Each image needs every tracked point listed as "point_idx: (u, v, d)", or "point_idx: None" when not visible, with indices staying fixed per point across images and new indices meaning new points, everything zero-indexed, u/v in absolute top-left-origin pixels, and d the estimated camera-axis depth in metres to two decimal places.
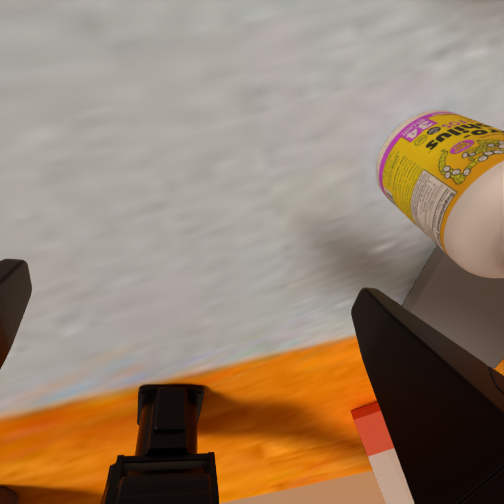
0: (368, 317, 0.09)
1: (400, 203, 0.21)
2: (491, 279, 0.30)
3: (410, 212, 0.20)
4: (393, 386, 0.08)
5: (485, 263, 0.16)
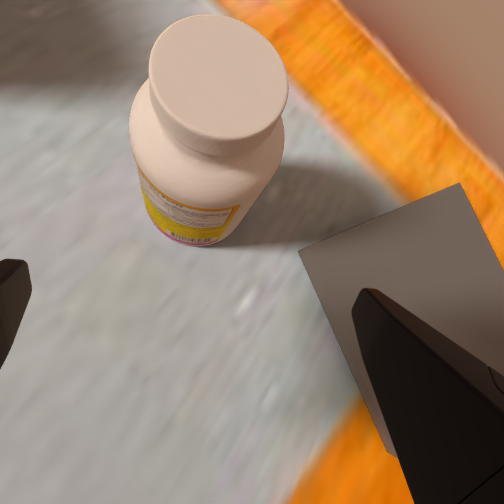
0: (368, 317, 0.10)
1: (169, 225, 0.19)
2: (391, 256, 0.25)
3: (169, 219, 0.17)
4: (393, 386, 0.08)
5: (198, 171, 0.13)
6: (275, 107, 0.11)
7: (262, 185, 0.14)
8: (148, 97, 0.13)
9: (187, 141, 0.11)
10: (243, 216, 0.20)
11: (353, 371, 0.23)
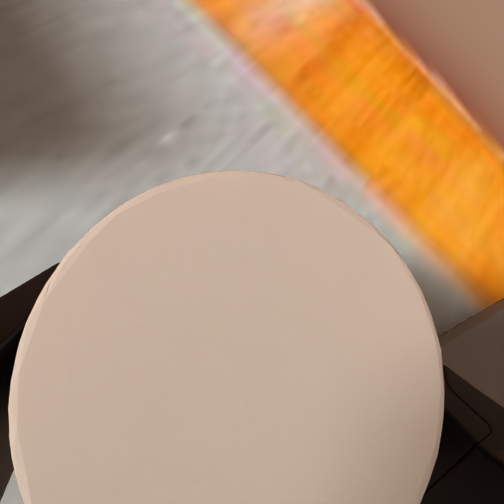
0: None
1: None
2: None
3: None
4: None
5: None
6: (416, 459, 0.04)
7: None
8: None
9: None
10: None
11: None
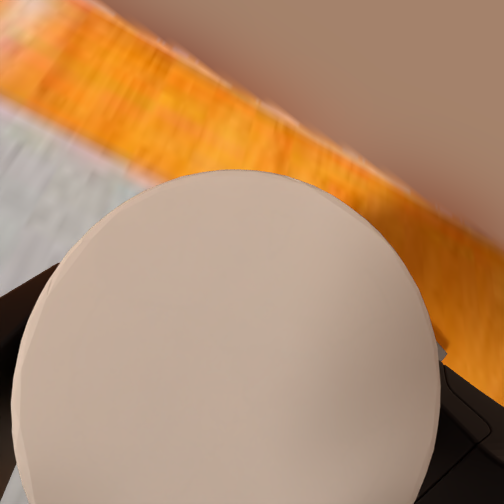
0: None
1: None
2: None
3: None
4: None
5: None
6: (413, 453, 0.04)
7: None
8: None
9: None
10: None
11: None
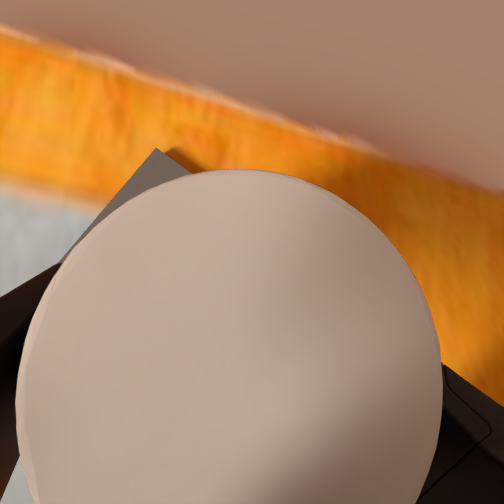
0: None
1: None
2: None
3: None
4: None
5: None
6: (415, 453, 0.04)
7: None
8: None
9: None
10: None
11: None
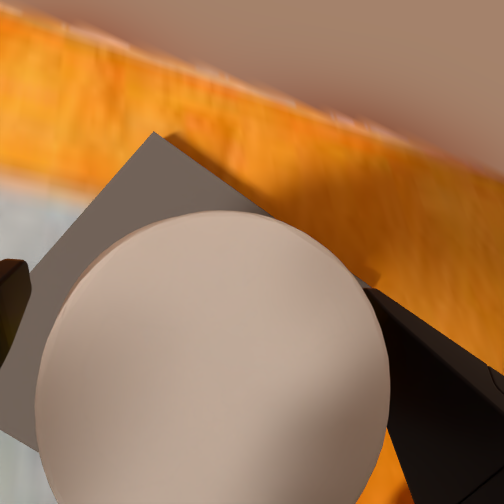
0: None
1: None
2: None
3: None
4: (393, 386, 0.08)
5: None
6: (364, 448, 0.05)
7: None
8: None
9: None
10: None
11: None
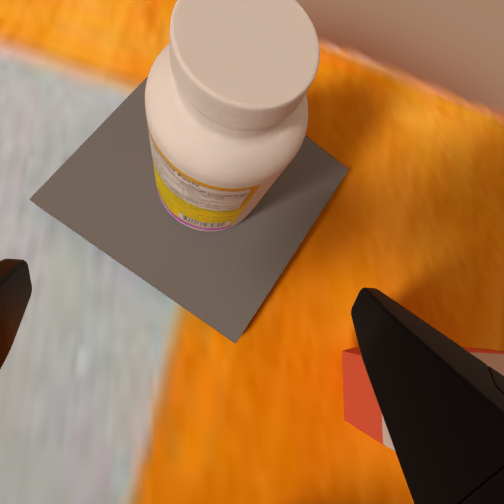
0: (368, 317, 0.09)
1: (182, 207, 0.18)
2: (138, 156, 0.22)
3: (183, 200, 0.17)
4: (393, 386, 0.08)
5: (218, 146, 0.12)
6: (305, 75, 0.10)
7: (284, 164, 0.14)
8: (166, 65, 0.12)
9: (209, 111, 0.10)
10: None
11: None
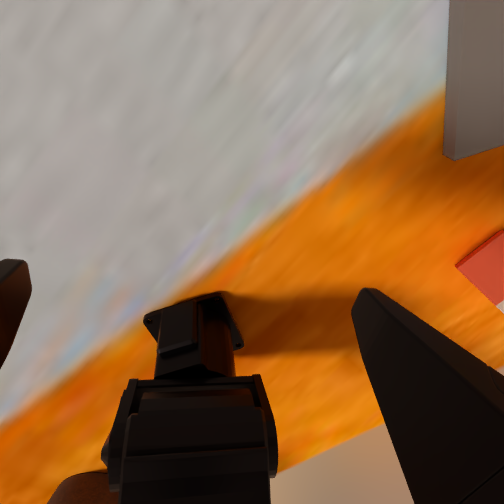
0: (368, 317, 0.10)
1: None
2: None
3: None
4: (393, 386, 0.08)
5: None
6: None
7: None
8: None
9: None
10: None
11: (450, 56, 0.19)
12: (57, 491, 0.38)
